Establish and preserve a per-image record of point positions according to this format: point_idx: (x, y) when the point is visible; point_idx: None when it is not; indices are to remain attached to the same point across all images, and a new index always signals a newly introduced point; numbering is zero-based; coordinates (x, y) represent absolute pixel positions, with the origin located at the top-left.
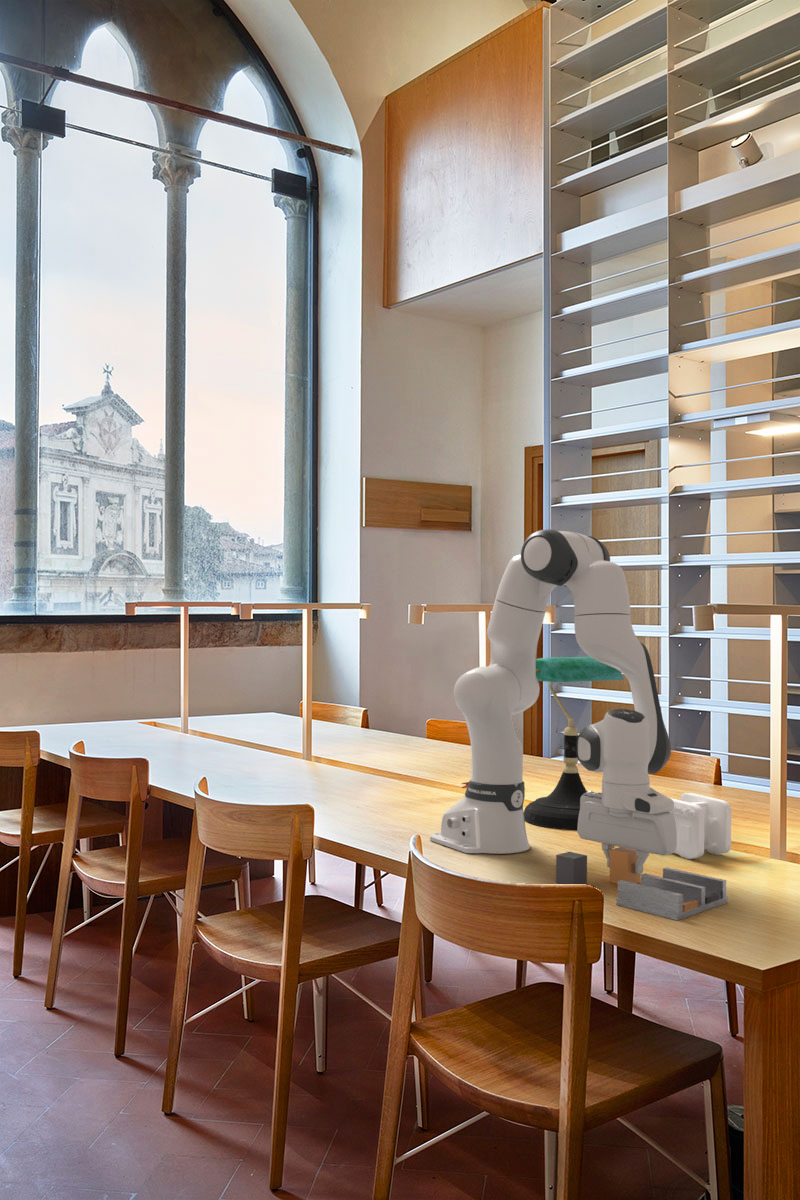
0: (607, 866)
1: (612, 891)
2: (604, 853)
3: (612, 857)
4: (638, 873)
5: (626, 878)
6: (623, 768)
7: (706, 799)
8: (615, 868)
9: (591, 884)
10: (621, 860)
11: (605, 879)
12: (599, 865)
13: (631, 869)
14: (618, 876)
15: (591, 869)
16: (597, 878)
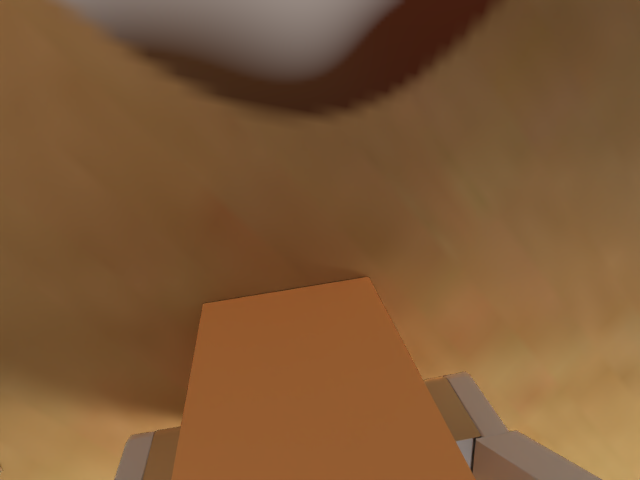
0: (464, 373)
1: (120, 66)
2: (572, 465)
3: (409, 442)
4: (130, 442)
5: (208, 338)
6: None
7: None
8: (337, 361)
9: (409, 92)
10: (266, 459)
11: (427, 295)
12: (620, 454)
13: None
14: (293, 324)
15: (619, 376)
16: (482, 268)
